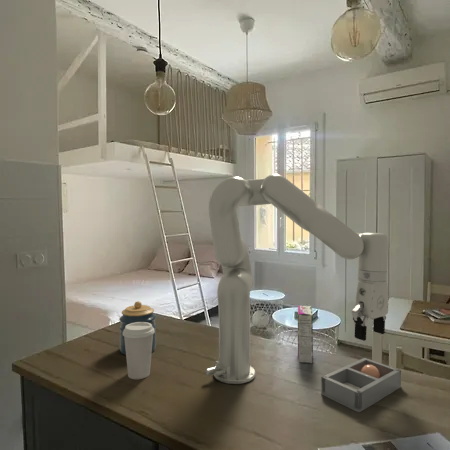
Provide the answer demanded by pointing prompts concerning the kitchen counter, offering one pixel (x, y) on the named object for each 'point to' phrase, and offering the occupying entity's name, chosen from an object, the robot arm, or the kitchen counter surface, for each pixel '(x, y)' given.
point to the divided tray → (360, 384)
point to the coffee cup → (138, 348)
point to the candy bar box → (305, 334)
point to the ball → (371, 371)
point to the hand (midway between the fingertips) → (369, 335)
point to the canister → (137, 315)
